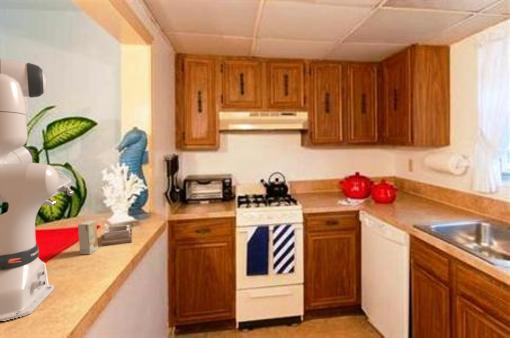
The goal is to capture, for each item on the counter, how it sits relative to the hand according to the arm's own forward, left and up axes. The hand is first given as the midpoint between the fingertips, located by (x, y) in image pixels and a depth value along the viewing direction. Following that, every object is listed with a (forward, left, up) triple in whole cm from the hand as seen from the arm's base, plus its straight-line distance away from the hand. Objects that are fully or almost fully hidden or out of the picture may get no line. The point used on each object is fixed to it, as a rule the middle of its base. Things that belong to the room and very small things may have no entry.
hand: (63, 199), depth 126 cm
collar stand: (+10, -18, -22) cm, 30 cm away
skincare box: (-4, -8, -22) cm, 24 cm away
